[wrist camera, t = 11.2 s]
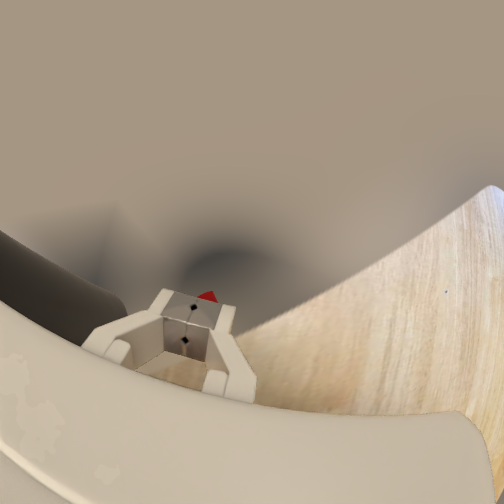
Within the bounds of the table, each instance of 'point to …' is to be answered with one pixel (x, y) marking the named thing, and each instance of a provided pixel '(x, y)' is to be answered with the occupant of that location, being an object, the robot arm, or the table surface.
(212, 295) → the red green-capped container
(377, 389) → the table surface
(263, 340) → the table surface
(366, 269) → the table surface
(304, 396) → the table surface
